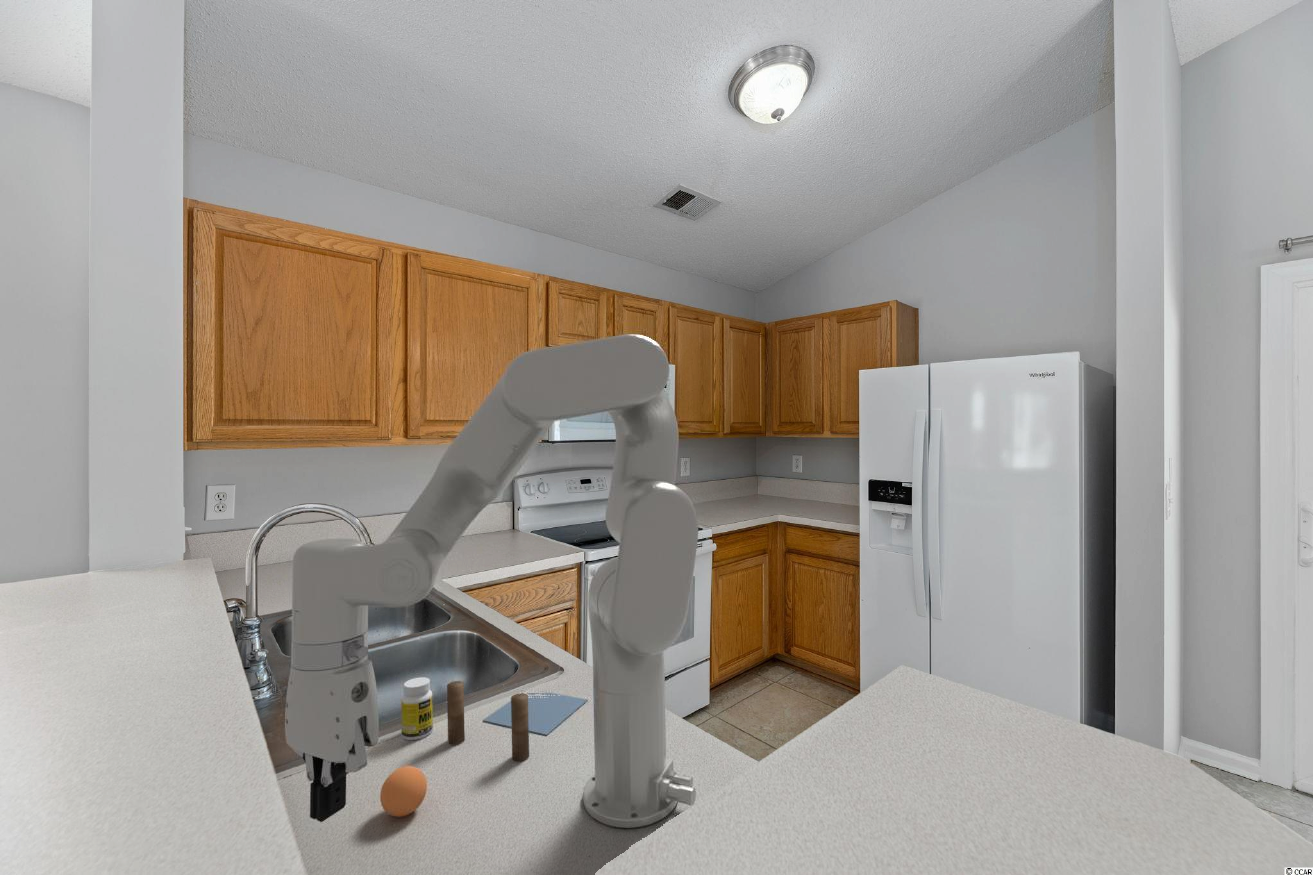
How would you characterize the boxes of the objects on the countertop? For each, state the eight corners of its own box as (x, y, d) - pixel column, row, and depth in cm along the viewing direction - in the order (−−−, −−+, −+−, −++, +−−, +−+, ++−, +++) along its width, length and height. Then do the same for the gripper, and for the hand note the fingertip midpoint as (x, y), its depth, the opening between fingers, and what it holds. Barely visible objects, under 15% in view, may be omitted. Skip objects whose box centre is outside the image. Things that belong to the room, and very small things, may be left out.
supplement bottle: (421, 742, 89) (420, 689, 89) (395, 739, 90) (394, 687, 90) (438, 727, 94) (438, 676, 94) (413, 724, 95) (412, 675, 95)
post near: (532, 753, 85) (531, 694, 85) (522, 762, 83) (521, 701, 83) (519, 750, 86) (517, 692, 86) (508, 759, 84) (507, 699, 84)
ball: (436, 804, 74) (435, 762, 74) (402, 831, 69) (401, 786, 69) (405, 794, 76) (405, 754, 76) (370, 820, 71) (369, 776, 71)
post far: (468, 738, 90) (466, 682, 90) (456, 746, 88) (455, 688, 88) (456, 735, 91) (454, 679, 91) (444, 743, 89) (443, 686, 89)
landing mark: (587, 700, 102) (587, 699, 102) (546, 735, 90) (546, 734, 90) (528, 689, 107) (528, 688, 107) (482, 721, 96) (482, 720, 96)
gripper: (406, 648, 64) (403, 810, 64) (317, 630, 70) (315, 778, 70) (346, 673, 57) (344, 854, 57) (254, 651, 63) (251, 815, 63)
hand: (328, 812), depth 63 cm, fingers closed
